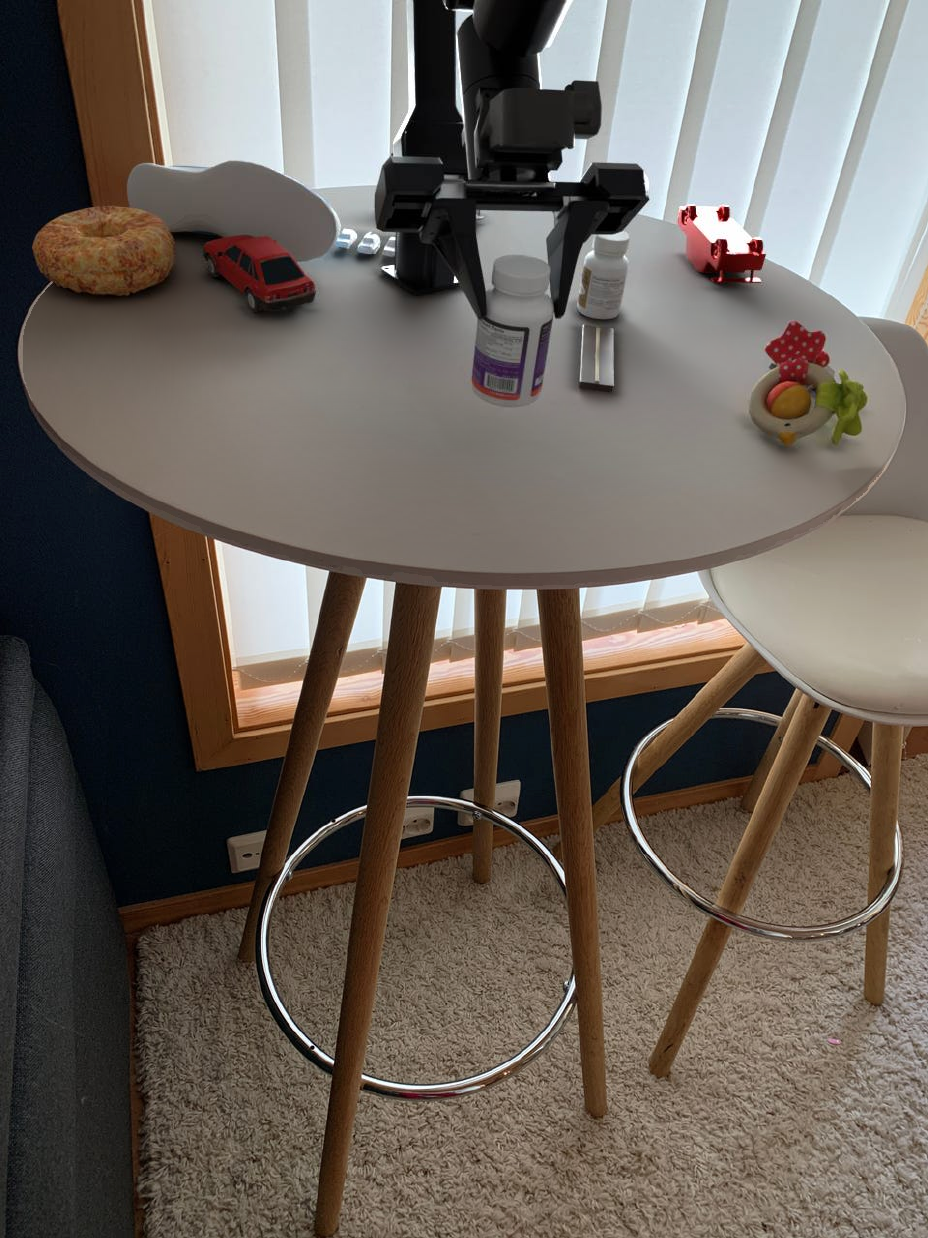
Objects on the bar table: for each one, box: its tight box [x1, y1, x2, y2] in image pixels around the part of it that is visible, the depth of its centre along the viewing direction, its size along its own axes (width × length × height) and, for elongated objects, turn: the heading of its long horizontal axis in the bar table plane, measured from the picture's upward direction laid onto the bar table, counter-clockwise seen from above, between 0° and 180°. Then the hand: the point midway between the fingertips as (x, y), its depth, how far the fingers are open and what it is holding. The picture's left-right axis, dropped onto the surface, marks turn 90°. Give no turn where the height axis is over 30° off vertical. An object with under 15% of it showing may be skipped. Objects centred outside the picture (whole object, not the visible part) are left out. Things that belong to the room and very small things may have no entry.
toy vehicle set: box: [334, 228, 395, 258], centre depth 101 cm, size 12×4×2 cm, turn 79°
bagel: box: [31, 205, 177, 297], centre depth 90 cm, size 13×14×5 cm
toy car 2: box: [676, 204, 767, 284], centre depth 106 cm, size 14×6×5 cm, turn 10°
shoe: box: [126, 159, 342, 263], centre depth 100 cm, size 9×23×12 cm
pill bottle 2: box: [576, 230, 631, 320], centre depth 93 cm, size 4×4×8 cm
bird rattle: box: [747, 319, 868, 447], centre depth 79 cm, size 6×11×9 cm
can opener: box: [476, 210, 485, 223], centre depth 110 cm, size 9×2×1 cm, turn 174°
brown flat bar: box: [578, 324, 615, 393], centre depth 87 cm, size 12×3×1 cm, turn 173°
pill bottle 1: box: [471, 254, 554, 408], centre depth 68 cm, size 5×5×10 cm
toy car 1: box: [202, 235, 317, 313], centre depth 90 cm, size 6×14×5 cm, turn 37°
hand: (521, 317), depth 66 cm, fingers closed on pill bottle 1, 5 cm apart
